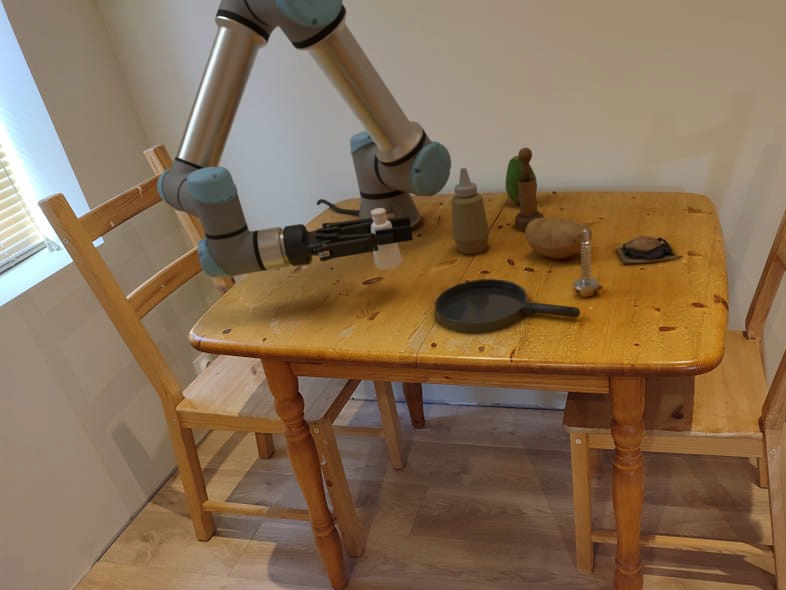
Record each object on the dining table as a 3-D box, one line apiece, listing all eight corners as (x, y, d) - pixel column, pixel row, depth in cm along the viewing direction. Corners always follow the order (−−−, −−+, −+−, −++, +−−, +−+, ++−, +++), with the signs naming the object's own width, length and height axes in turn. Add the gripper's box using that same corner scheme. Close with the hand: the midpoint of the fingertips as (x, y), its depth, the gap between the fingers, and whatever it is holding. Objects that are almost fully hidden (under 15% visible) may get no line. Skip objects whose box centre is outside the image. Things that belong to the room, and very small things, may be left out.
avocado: (508, 198, 170) (505, 152, 163) (538, 197, 168) (536, 150, 162) (505, 209, 163) (501, 162, 157) (536, 208, 162) (534, 160, 155)
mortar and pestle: (511, 230, 151) (505, 152, 141) (520, 220, 156) (515, 144, 146) (539, 232, 149) (534, 152, 139) (547, 221, 154) (543, 144, 144)
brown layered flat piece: (623, 266, 130) (623, 249, 128) (615, 249, 137) (615, 233, 135) (677, 260, 129) (678, 243, 127) (666, 244, 136) (667, 227, 134)
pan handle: (519, 313, 116) (518, 304, 115) (523, 307, 118) (523, 299, 117) (578, 320, 112) (578, 311, 111) (581, 314, 114) (581, 305, 113)
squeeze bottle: (496, 243, 146) (489, 163, 136) (481, 258, 140) (472, 175, 130) (464, 240, 149) (454, 162, 139) (448, 255, 143) (437, 174, 133)
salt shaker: (391, 272, 123) (380, 217, 117) (369, 268, 126) (357, 213, 120) (408, 260, 127) (398, 206, 121) (386, 256, 130) (376, 203, 124)
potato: (584, 269, 130) (583, 232, 126) (519, 262, 136) (516, 226, 132) (599, 250, 137) (598, 214, 133) (537, 244, 143) (535, 209, 139)
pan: (420, 326, 118) (418, 316, 116) (459, 284, 130) (458, 275, 129) (508, 338, 111) (507, 328, 110) (540, 293, 124) (540, 283, 123)
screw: (574, 300, 120) (572, 288, 124) (601, 298, 119) (597, 286, 123) (572, 234, 113) (570, 224, 117) (601, 232, 112) (597, 221, 116)
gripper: (296, 247, 131) (412, 230, 132) (287, 284, 117) (416, 264, 118) (286, 212, 127) (406, 194, 128) (275, 245, 113) (409, 225, 114)
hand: (410, 228), depth 123 cm, fingers closed on salt shaker, 4 cm apart
